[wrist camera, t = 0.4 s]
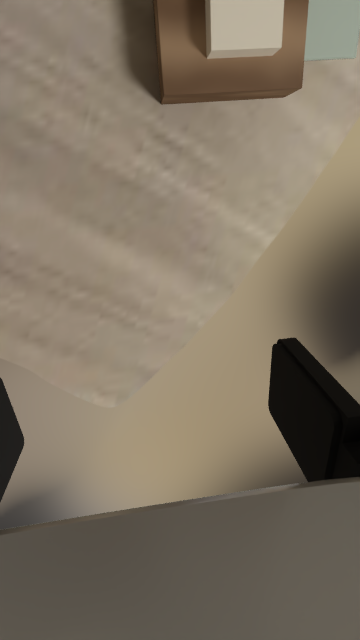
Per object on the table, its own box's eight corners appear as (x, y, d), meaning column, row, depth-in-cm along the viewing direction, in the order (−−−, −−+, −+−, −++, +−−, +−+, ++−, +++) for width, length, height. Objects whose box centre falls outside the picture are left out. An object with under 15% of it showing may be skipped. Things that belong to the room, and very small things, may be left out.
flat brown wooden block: (145, -97, 26) (146, -141, 22) (295, -98, 27) (319, -140, 23) (161, 104, 32) (164, 95, 28) (284, 97, 33) (301, 87, 29)
